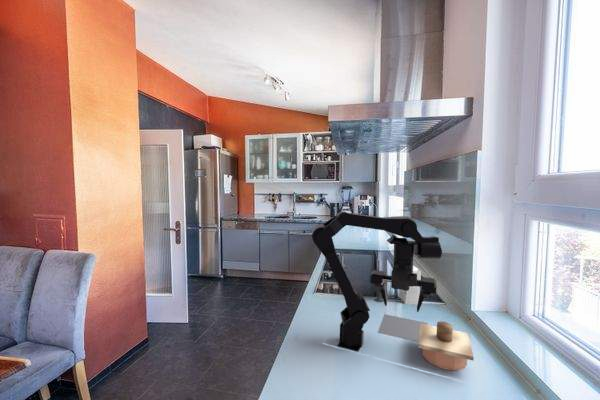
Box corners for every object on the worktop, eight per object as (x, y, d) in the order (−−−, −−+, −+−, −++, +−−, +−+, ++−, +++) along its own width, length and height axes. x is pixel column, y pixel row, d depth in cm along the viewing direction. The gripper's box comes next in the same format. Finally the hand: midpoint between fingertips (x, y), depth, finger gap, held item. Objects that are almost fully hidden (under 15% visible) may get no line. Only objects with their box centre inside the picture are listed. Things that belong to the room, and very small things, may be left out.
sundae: (374, 296, 125) (375, 263, 125) (388, 300, 121) (390, 266, 120) (367, 301, 120) (368, 266, 119) (382, 305, 116) (383, 270, 115)
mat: (377, 333, 94) (377, 332, 94) (384, 315, 107) (384, 314, 107) (426, 345, 88) (426, 343, 88) (427, 324, 101) (427, 322, 101)
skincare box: (398, 297, 125) (400, 264, 124) (412, 297, 125) (413, 264, 124) (405, 305, 117) (407, 270, 116) (420, 305, 117) (421, 270, 116)
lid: (418, 347, 77) (419, 329, 77) (420, 326, 89) (421, 311, 89) (473, 360, 72) (474, 341, 72) (467, 336, 84) (468, 320, 83)
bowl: (422, 364, 78) (422, 346, 78) (423, 344, 88) (423, 328, 88) (467, 376, 73) (468, 357, 73) (463, 353, 83) (464, 337, 83)
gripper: (366, 260, 82) (365, 312, 83) (437, 269, 74) (435, 327, 75) (374, 252, 92) (372, 299, 93) (437, 259, 84) (435, 310, 85)
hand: (401, 308), depth 86 cm, fingers open, 9 cm apart
